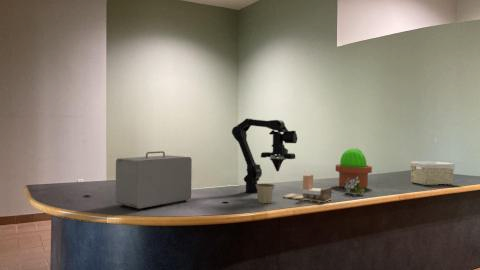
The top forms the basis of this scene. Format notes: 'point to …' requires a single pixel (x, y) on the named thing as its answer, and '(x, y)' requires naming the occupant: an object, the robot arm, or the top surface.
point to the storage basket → (432, 173)
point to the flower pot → (265, 192)
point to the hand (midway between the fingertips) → (277, 171)
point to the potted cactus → (353, 168)
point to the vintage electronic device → (152, 180)
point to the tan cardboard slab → (323, 197)
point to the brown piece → (310, 188)
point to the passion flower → (354, 186)
